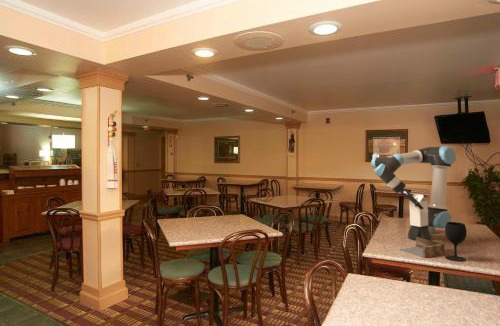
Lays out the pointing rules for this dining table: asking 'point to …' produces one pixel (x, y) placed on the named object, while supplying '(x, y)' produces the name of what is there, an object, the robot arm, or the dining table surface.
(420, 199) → the milk carton
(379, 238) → the dining table surface
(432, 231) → the can
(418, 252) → the mat
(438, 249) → the corner walls
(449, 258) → the wine glass
